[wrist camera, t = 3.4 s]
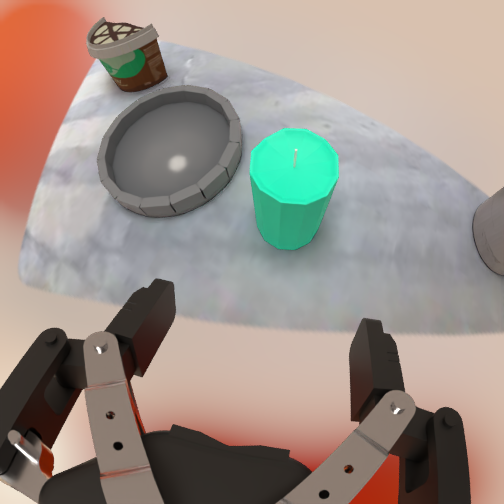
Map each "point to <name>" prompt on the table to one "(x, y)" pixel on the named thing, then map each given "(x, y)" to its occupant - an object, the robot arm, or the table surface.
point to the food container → (127, 54)
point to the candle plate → (171, 151)
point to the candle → (292, 185)
